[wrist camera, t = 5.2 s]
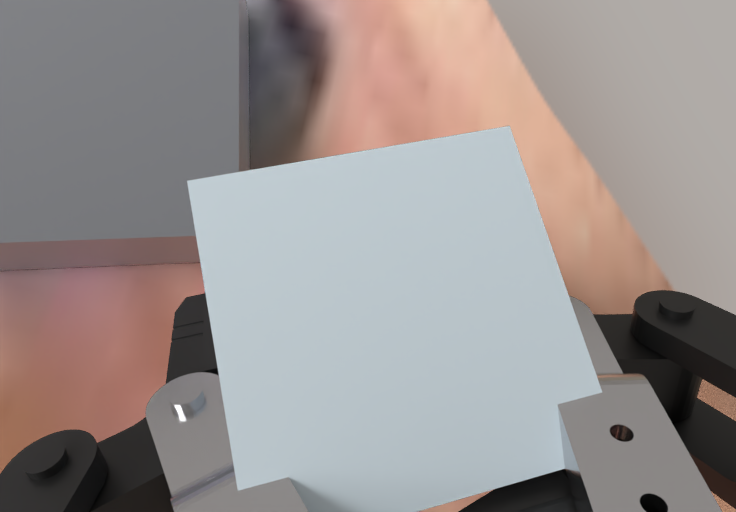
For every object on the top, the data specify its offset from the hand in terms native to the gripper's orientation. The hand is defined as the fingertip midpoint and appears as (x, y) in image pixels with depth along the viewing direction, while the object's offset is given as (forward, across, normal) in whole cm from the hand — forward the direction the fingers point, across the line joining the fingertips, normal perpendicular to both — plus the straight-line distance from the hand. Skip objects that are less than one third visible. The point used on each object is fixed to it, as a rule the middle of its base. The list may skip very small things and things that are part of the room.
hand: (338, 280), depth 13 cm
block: (+2, 0, +4) cm, 5 cm away
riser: (+12, +7, -2) cm, 14 cm away
